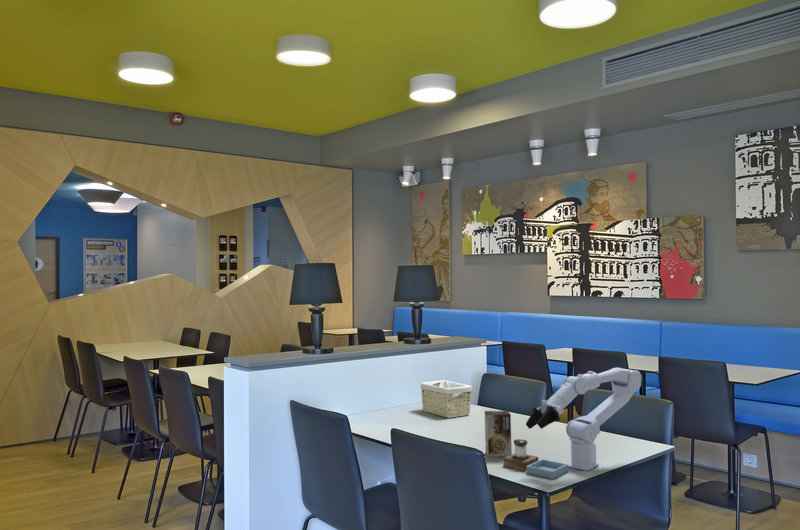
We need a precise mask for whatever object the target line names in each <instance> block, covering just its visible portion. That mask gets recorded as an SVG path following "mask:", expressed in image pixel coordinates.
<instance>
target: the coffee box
mask: <svg viewBox="0 0 800 530" xmlns="http://www.w3.org/2000/svg"><path fill="white" fill-rule="evenodd" d="M511 417H512V415H511V413H510V412H509V410H505V409H504V410H484V435H485V436H484V438H485V454H486V455H487V457H488V458H499V457H500V458H501V457H507V456H509V455H511V454H513V452H512V423H511V421H512V419H511Z"/></svg>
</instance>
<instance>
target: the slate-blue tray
mask: <svg viewBox="0 0 800 530" xmlns="http://www.w3.org/2000/svg"><path fill="white" fill-rule="evenodd" d="M525 472H526V474H527V475H532V476H536V477H540V478H544V479H549V480H555V479H557V478H559V477H560V476H562V475H564V474H566V473H568V472H569V467H568V463H563V462H558V461H553V460H549V459H548V460H547V459H543V458H542V459H538V461H537V462H535V463H532V464H530V465H528V466H526V471H525Z"/></svg>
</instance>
